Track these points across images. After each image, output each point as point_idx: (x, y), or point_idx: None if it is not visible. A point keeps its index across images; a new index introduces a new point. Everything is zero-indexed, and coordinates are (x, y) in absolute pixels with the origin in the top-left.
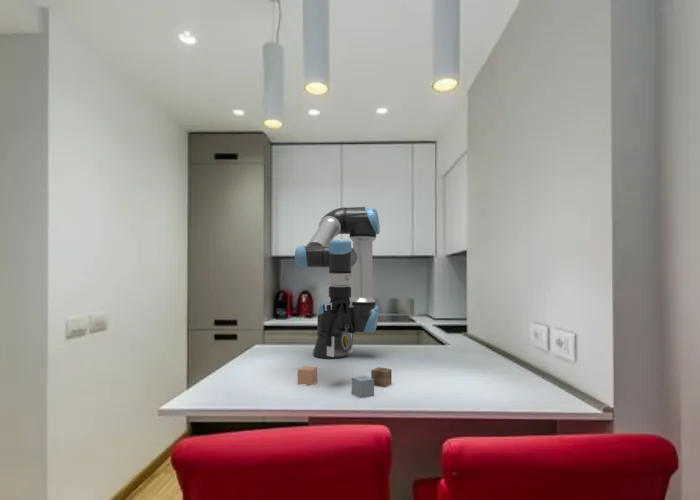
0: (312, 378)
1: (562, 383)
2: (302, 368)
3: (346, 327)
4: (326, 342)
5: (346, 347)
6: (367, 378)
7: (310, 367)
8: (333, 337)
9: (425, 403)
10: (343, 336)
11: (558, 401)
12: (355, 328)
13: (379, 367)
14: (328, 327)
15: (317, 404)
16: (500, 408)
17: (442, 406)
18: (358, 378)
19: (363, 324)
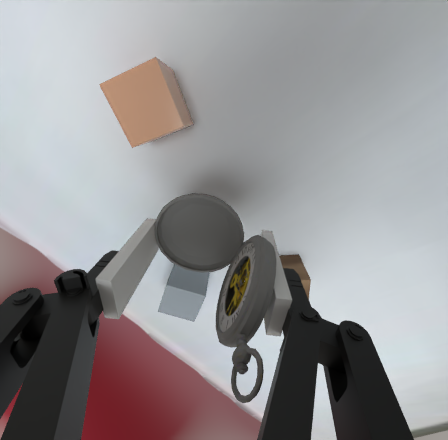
0: (150, 141)
1: (428, 433)
2: (123, 90)
3: (237, 371)
4: (97, 267)
5: (232, 272)
6: (188, 310)
7: (160, 106)
8: (113, 314)
9: (218, 357)
10: (248, 286)
11: (328, 435)
12: (327, 366)
13: (308, 283)
14: (12, 381)
15: (72, 250)
16: (260, 409)
17: (222, 373)
18: (172, 298)
19: None
